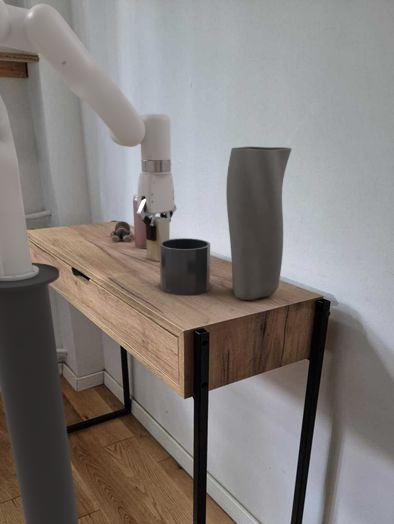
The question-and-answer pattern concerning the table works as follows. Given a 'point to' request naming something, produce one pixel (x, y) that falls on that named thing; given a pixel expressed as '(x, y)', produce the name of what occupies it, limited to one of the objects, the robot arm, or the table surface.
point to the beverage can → (139, 226)
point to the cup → (184, 266)
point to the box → (158, 237)
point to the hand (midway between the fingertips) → (157, 237)
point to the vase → (256, 218)
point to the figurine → (121, 232)
